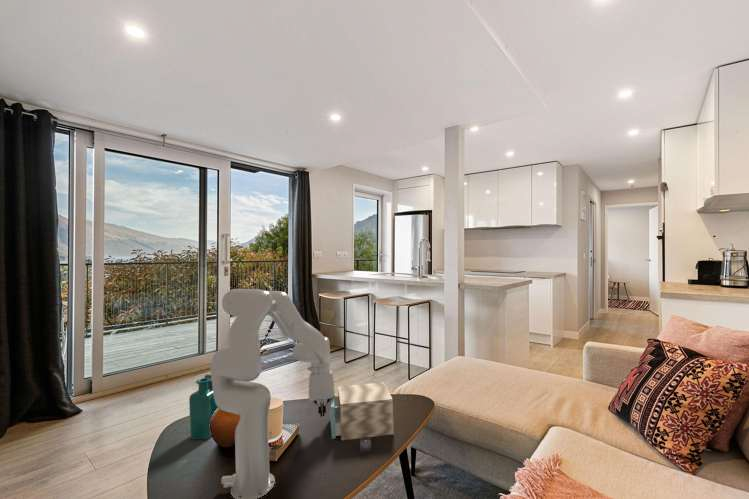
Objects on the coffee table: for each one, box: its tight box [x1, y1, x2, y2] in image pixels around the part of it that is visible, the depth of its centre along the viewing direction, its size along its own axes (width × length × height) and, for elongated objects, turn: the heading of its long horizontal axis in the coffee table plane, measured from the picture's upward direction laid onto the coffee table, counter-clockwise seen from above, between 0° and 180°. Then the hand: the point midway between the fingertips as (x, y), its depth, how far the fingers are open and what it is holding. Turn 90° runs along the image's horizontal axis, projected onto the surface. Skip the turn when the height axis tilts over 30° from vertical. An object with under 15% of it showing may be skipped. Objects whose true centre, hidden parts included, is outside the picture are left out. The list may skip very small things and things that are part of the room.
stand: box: [359, 437, 372, 454], centre depth 123 cm, size 4×4×4 cm
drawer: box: [329, 398, 341, 440], centre depth 140 cm, size 20×18×12 cm
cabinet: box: [337, 381, 395, 441], centre depth 141 cm, size 20×18×14 cm
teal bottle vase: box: [188, 373, 219, 440], centre depth 139 cm, size 10×8×22 cm
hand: (322, 414), depth 138 cm, fingers closed
